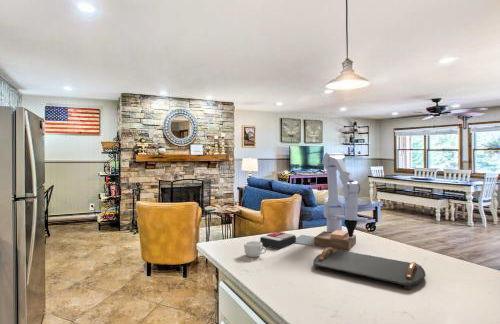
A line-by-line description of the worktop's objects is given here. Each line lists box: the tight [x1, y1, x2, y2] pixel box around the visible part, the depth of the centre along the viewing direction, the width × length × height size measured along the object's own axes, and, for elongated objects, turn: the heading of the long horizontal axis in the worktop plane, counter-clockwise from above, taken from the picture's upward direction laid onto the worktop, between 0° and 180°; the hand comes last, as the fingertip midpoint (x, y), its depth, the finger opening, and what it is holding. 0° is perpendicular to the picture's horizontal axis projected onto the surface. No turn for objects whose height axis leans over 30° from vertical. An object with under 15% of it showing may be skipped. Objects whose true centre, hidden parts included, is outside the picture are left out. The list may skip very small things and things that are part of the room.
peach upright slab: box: [330, 230, 348, 240], centre depth 154 cm, size 9×6×2 cm, turn 149°
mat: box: [293, 234, 315, 247], centre depth 163 cm, size 16×12×1 cm
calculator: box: [259, 231, 297, 250], centre depth 156 cm, size 11×4×15 cm
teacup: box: [243, 240, 267, 258], centre depth 138 cm, size 10×8×5 cm
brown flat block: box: [313, 230, 357, 252], centre depth 155 cm, size 14×16×4 cm
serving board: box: [312, 247, 427, 291], centre depth 121 cm, size 39×23×6 cm, turn 54°
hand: (350, 236), depth 151 cm, fingers closed
